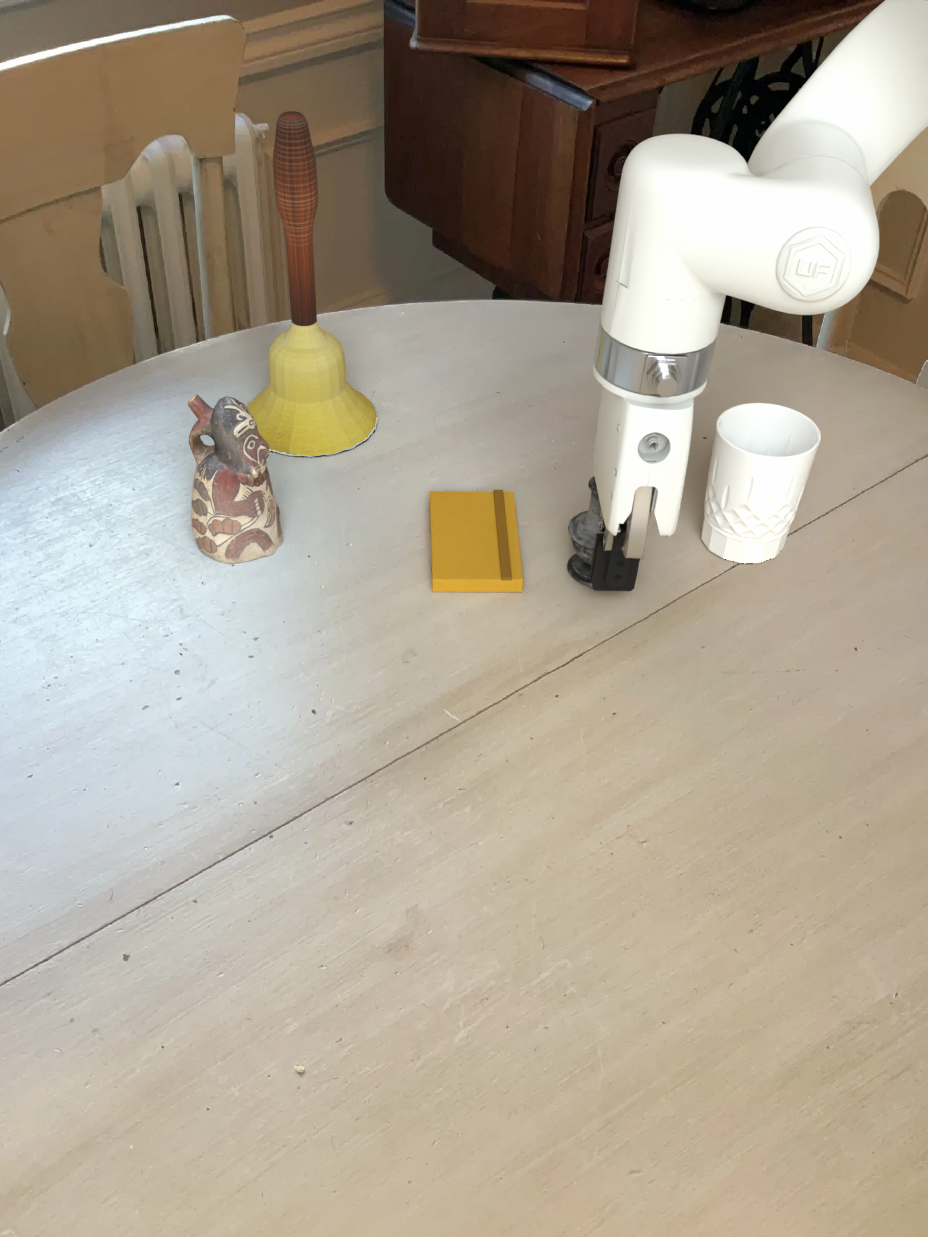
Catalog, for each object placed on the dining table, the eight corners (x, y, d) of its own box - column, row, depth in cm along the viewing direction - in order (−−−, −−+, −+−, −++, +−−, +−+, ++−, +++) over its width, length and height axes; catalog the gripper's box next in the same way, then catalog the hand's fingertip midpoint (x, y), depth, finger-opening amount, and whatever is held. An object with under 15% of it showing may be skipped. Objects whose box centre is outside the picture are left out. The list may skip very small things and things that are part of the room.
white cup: (721, 501, 107) (745, 391, 99) (806, 535, 104) (837, 424, 96) (676, 545, 102) (698, 434, 95) (764, 581, 100) (793, 469, 92)
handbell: (393, 395, 117) (392, 96, 98) (357, 466, 109) (347, 155, 90) (266, 377, 118) (240, 78, 99) (222, 445, 110) (184, 136, 92)
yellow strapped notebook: (429, 503, 106) (429, 488, 104) (512, 504, 106) (513, 489, 105) (432, 592, 98) (432, 577, 97) (522, 592, 98) (523, 577, 97)
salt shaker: (555, 550, 102) (571, 410, 93) (626, 545, 102) (648, 406, 94) (573, 592, 98) (591, 450, 89) (646, 587, 98) (671, 445, 90)
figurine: (260, 572, 99) (246, 433, 90) (178, 552, 100) (156, 413, 91) (296, 522, 103) (286, 385, 94) (217, 504, 105) (200, 367, 96)
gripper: (732, 416, 77) (676, 649, 91) (691, 300, 87) (645, 527, 101) (611, 413, 77) (572, 648, 90) (583, 297, 86) (552, 525, 100)
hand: (611, 583), depth 95 cm, fingers closed
